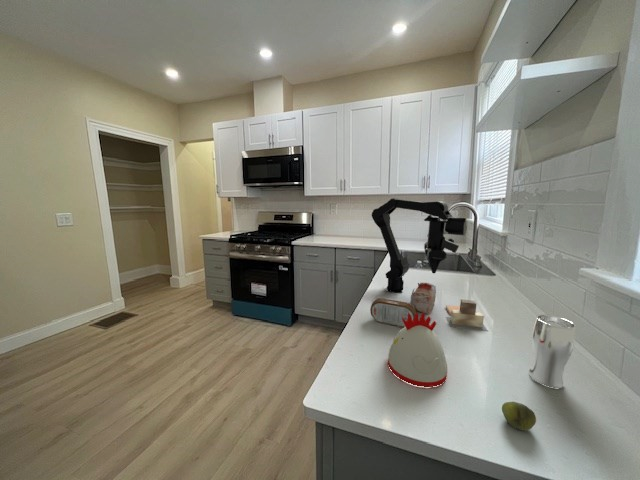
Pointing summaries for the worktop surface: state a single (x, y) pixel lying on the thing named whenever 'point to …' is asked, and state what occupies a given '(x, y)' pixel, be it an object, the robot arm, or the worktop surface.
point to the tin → (391, 311)
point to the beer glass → (551, 349)
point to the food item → (423, 297)
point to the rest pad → (465, 326)
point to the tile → (452, 308)
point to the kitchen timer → (418, 353)
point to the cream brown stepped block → (467, 314)
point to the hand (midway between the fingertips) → (432, 269)
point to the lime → (519, 415)
